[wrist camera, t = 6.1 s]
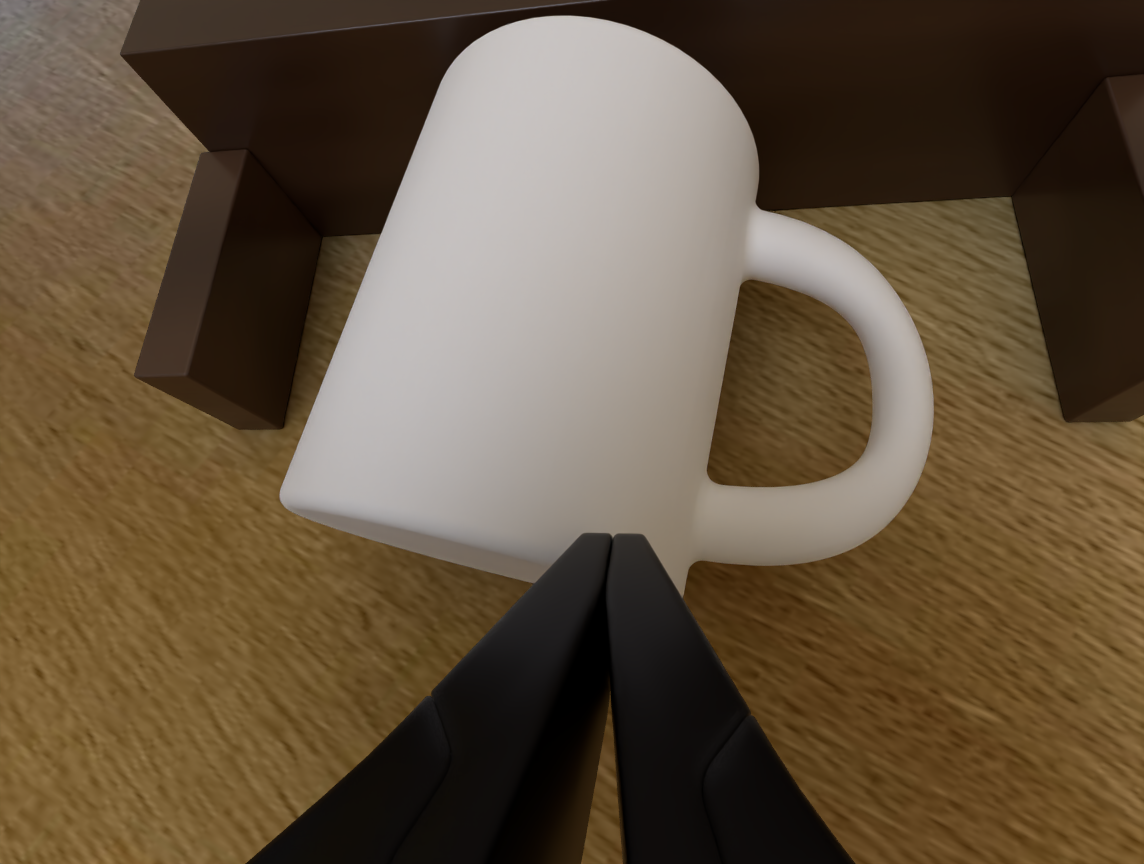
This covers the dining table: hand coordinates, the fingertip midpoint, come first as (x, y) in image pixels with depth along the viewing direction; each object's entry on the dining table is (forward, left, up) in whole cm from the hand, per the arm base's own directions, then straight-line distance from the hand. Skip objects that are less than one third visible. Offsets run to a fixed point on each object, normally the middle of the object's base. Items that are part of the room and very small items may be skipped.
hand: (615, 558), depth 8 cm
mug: (+4, +2, -8) cm, 9 cm away
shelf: (+8, +4, -8) cm, 12 cm away
